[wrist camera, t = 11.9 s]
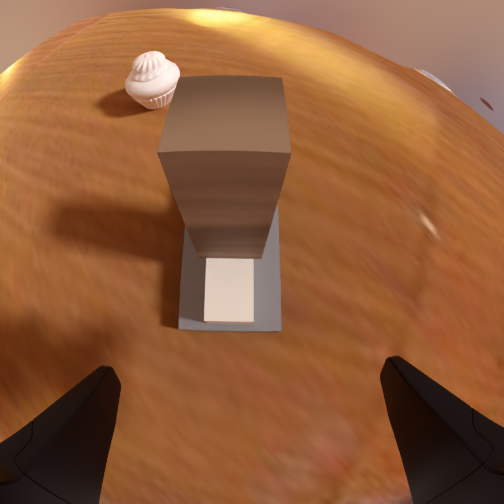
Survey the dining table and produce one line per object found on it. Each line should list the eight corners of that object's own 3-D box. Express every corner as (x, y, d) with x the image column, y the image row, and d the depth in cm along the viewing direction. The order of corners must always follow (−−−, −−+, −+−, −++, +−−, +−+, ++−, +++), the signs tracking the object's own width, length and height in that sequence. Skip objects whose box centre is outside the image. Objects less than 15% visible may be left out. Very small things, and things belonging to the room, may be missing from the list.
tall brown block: (261, 259, 18) (291, 153, 8) (198, 257, 17) (157, 152, 8) (260, 203, 19) (282, 77, 9) (202, 202, 19) (179, 77, 9)
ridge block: (278, 331, 20) (286, 329, 16) (182, 330, 19) (171, 327, 16) (273, 178, 24) (278, 153, 20) (194, 177, 23) (188, 152, 20)
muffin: (160, 81, 28) (150, 37, 21) (195, 94, 27) (189, 45, 21) (122, 109, 26) (105, 64, 20) (155, 125, 25) (140, 75, 19)
